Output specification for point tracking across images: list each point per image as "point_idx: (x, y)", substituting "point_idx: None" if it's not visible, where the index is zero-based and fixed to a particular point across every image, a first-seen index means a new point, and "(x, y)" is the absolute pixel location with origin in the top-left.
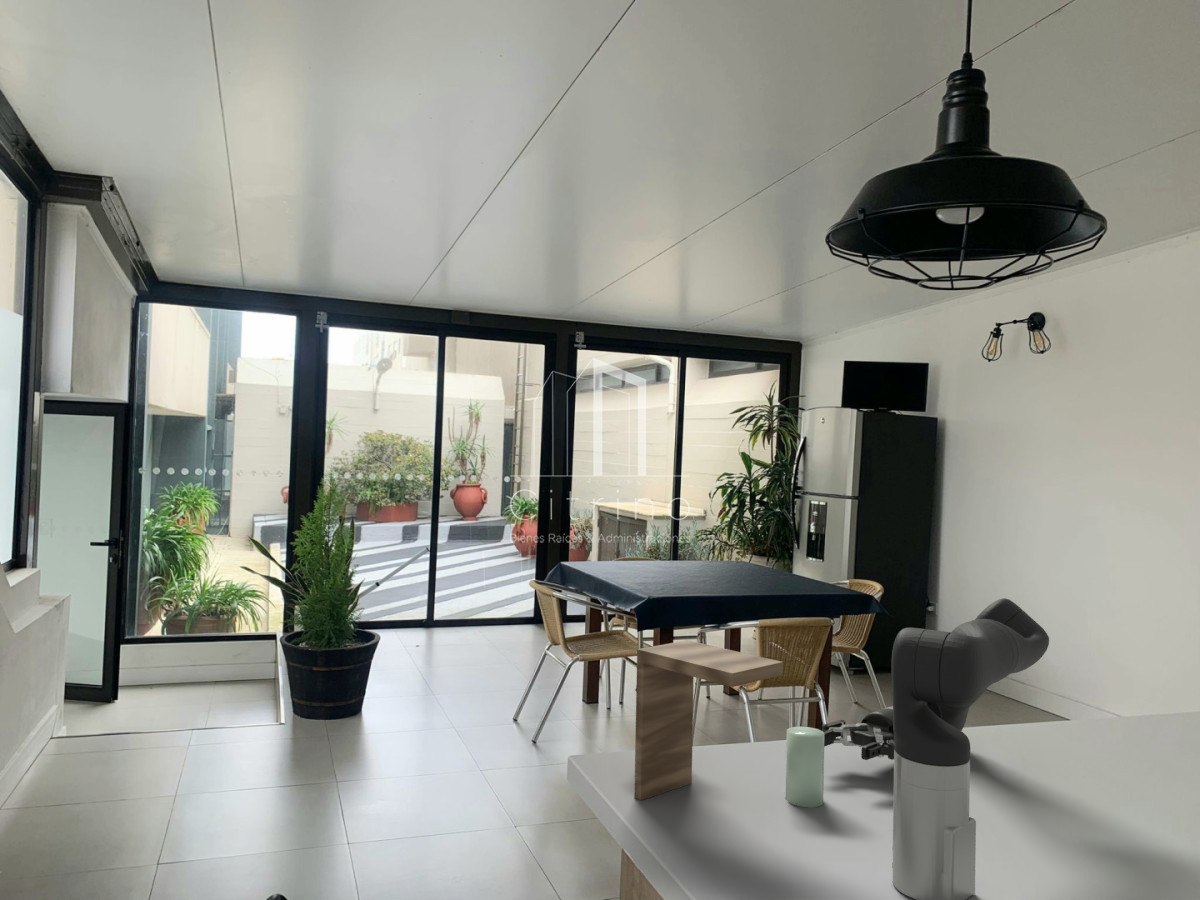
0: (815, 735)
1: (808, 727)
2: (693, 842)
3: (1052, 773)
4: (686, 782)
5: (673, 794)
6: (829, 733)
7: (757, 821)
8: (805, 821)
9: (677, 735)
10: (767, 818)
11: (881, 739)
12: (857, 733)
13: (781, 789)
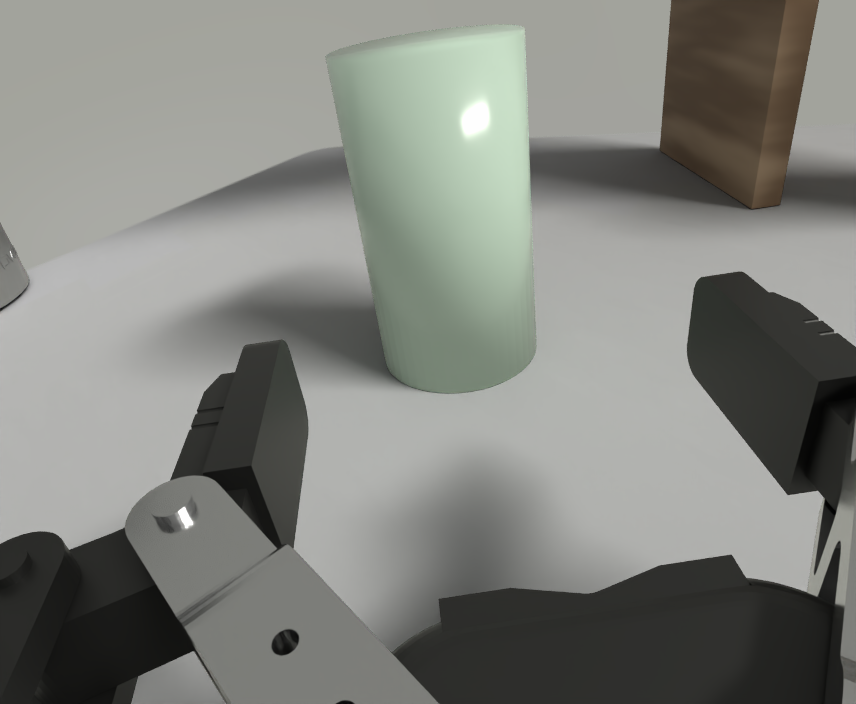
0: (357, 50)
1: (475, 44)
2: None
3: None
4: (739, 193)
5: (675, 180)
6: (763, 343)
7: None
8: (339, 289)
9: (740, 13)
10: None
11: (196, 597)
12: (658, 572)
13: (596, 339)
